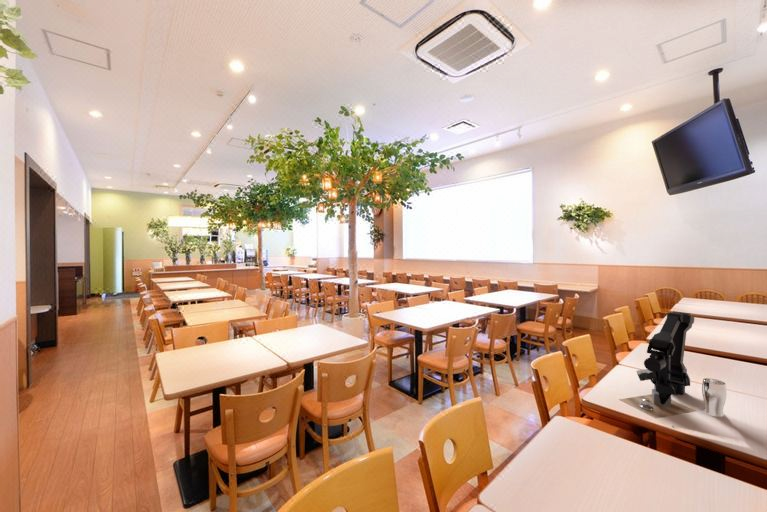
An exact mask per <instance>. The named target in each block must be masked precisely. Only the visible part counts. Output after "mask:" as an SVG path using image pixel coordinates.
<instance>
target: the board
mask: <svg viewBox="0 0 767 512" xmlns="http://www.w3.org/2000/svg"><path fill="white" fill-rule="evenodd" d="M642 398H644V399H648V400H649V401H650V406H652V407H653V410H646V409H643V408H640V407H639V406H638V404H639V403H641V399H642ZM618 400H619V401H620V402H623V403H624V404H626V405H628V406H630V407H633V408H635V409H637V410H638V411H640V412H642V413H643V414H646V415H648V416H650V417H652V418H654V419H660V418H665V417H671V416H677V415H682V414H688V413H694V412H697V410H696V409H694V408H691V407H689V406H687V405H684V404H682V403H680V402H678V401H676V400H673V399H671V407H668V406H663V405H657V404H654V403H653V400H652V393H650V394H644V395H638V396H632V397H626V398H618Z"/></svg>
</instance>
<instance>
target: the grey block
mask: <svg viewBox="0 0 767 512" xmlns="http://www.w3.org/2000/svg"><path fill="white" fill-rule="evenodd" d="M651 394H652V400H653V403H654V404H657V405H663V406H668V407H671V400H672V395H671V396H670V397H669V398H668V400H667V401H666V403H665V404H661V402H660V398H659V393H658V392H656V391H655V389H654V388H651Z"/></svg>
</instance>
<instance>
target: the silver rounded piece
mask: <svg viewBox="0 0 767 512" xmlns="http://www.w3.org/2000/svg"><path fill="white" fill-rule="evenodd" d="M638 406H639V407H640V408H643V409H646V410H653V407H652V406H650V401H649V400H648V399H644V398H642V399H641V403H639V404H638Z"/></svg>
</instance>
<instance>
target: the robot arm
mask: <svg viewBox="0 0 767 512" xmlns="http://www.w3.org/2000/svg"><path fill="white" fill-rule="evenodd" d="M693 324H695V316H693V315H692V314H691V313H688V312H681V311H675V310H674V311H672V312H667V314H666V319H665V321H664V322H663V325H662V327H661V329H660V330H659V332H658V333H655V334H654V335H653V336H652V338H650V339H649V343H648V347H647V349H646V353H647V354H650V355H649V357H647V358H646V359H644V362H643V365H644V369H639V370H636V374H637V376H638V378H639V381H641V382H644V381H649V380H650V382H651V383H652V384H653V386H654V387H653V389H655V391H656V392H658V393H659V398H660V402H661V404H665V403H666V401H667V400H668V398H669V397H670V396H671V397H672V395H673V396H676V395H680V396H681V395H682V396H683V395H685V393H686V387H690V386H691V378H690V376H689V374H688V369H687V367H686V366H685V364H684V356H685V346H686V340H687V339H686V338H687V332H688V331H689V330H691V329H692V327H693ZM645 368H646V369H645Z"/></svg>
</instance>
